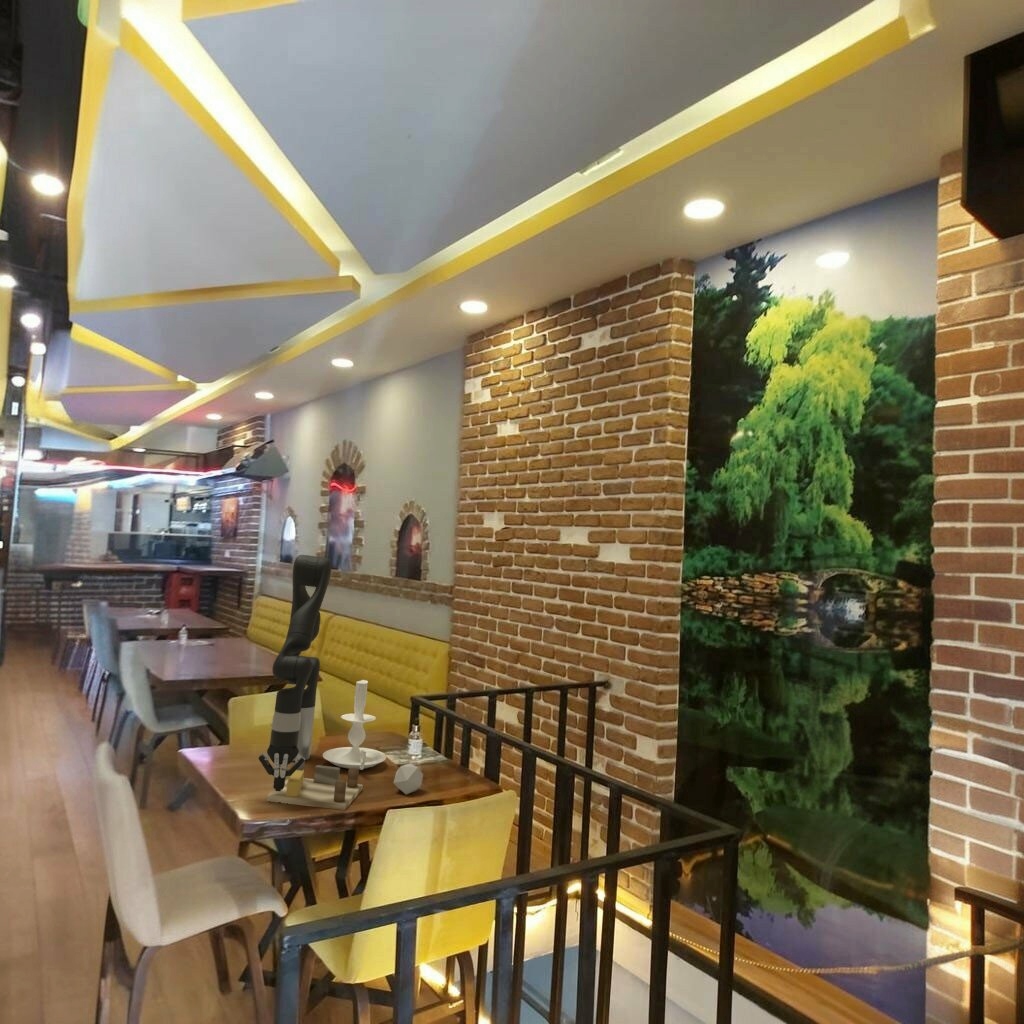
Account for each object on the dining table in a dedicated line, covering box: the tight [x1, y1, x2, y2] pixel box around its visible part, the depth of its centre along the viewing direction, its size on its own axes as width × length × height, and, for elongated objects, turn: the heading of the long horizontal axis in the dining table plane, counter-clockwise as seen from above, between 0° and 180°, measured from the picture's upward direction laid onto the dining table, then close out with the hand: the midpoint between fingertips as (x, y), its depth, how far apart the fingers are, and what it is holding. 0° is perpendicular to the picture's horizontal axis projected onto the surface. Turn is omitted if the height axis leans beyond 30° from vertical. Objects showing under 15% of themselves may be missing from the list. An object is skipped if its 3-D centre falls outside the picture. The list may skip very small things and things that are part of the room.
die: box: [393, 762, 424, 796], centre depth 226 cm, size 8×9×10 cm
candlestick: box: [322, 679, 387, 771], centre depth 246 cm, size 21×25×28 cm
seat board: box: [266, 764, 364, 811], centre depth 216 cm, size 18×22×6 cm
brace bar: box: [286, 760, 306, 797], centre depth 215 cm, size 13×3×6 cm, turn 8°
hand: (278, 790), depth 210 cm, fingers closed
